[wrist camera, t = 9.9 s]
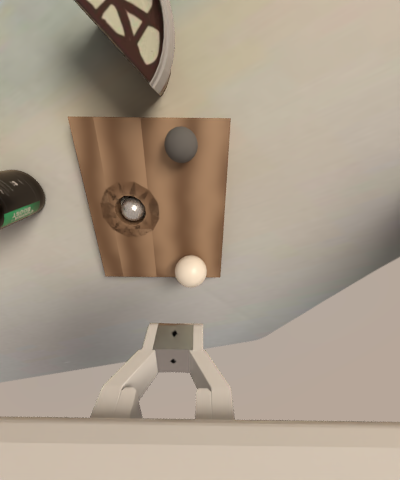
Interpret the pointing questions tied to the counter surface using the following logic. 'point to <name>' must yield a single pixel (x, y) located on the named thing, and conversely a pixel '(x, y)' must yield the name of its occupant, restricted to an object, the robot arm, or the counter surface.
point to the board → (153, 192)
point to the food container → (138, 34)
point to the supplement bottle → (18, 197)
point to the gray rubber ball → (181, 144)
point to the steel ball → (133, 209)
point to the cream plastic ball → (190, 271)
